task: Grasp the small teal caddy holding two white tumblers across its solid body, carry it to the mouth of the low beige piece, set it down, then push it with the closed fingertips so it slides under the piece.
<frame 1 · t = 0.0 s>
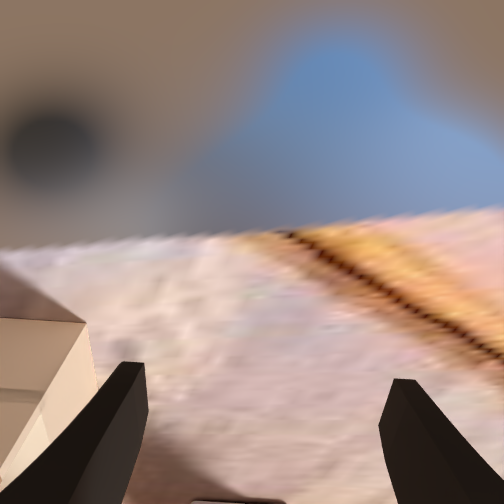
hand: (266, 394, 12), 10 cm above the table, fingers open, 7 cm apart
beige piece: (33, 373, 26), on the table
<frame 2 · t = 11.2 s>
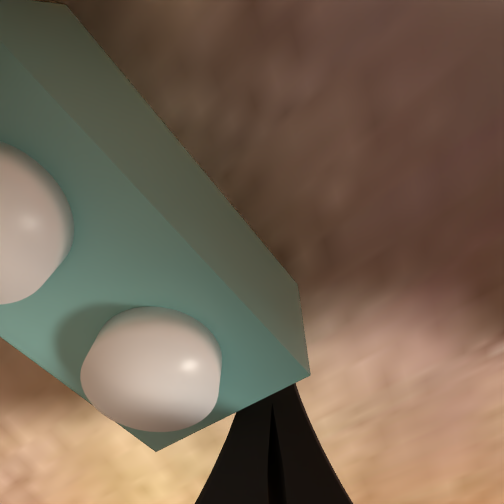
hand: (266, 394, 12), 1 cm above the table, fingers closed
tray: (136, 217, 10), on the table
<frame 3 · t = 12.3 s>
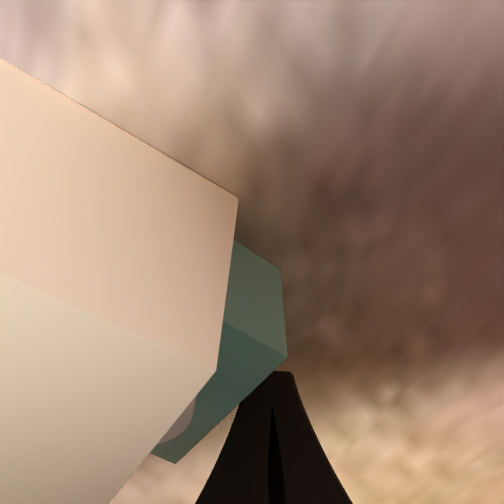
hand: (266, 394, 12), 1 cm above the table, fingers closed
beige piece: (17, 232, 11), on the table
tray: (106, 246, 11), on the table, touching gripper
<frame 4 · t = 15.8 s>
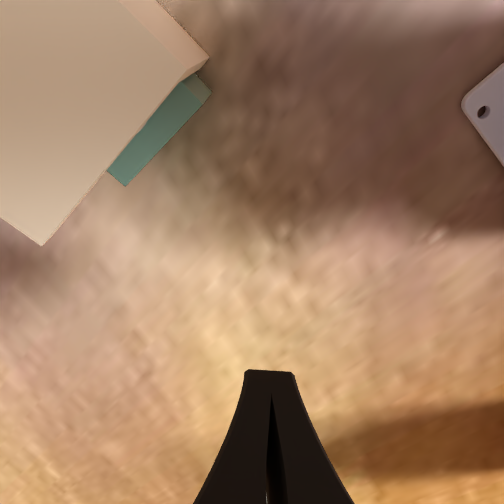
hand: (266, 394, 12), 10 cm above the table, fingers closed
beige piece: (62, 48, 16), on the table
tray: (101, 51, 16), on the table
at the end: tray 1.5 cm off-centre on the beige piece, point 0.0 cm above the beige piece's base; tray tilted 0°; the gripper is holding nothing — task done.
